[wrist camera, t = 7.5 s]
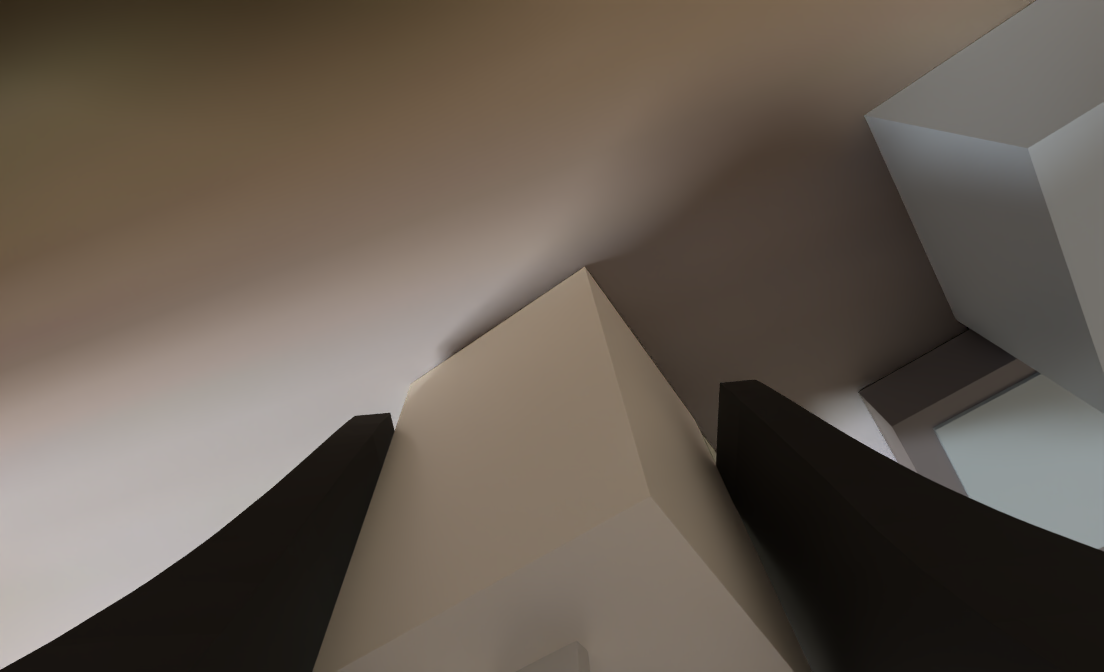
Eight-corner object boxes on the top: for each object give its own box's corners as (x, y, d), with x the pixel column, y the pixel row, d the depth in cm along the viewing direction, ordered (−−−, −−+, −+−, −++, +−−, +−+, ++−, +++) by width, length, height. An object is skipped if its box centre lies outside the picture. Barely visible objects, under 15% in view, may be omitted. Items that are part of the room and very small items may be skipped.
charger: (410, 383, 11) (286, 751, 5) (584, 266, 10) (665, 548, 4) (533, 512, 13) (542, 912, 7) (694, 419, 12) (863, 784, 6)
